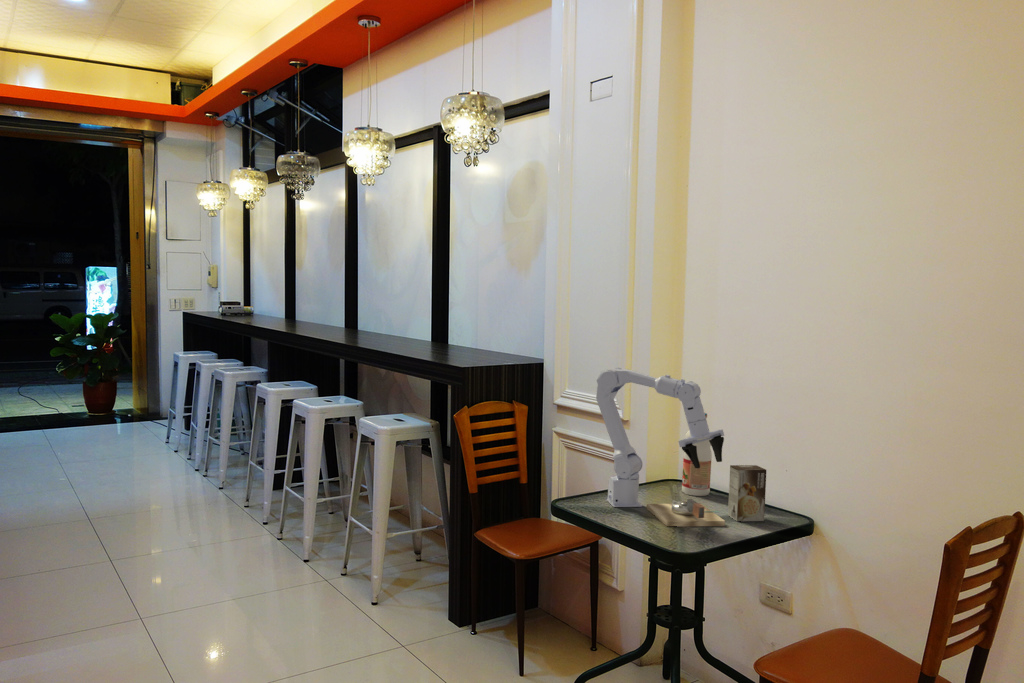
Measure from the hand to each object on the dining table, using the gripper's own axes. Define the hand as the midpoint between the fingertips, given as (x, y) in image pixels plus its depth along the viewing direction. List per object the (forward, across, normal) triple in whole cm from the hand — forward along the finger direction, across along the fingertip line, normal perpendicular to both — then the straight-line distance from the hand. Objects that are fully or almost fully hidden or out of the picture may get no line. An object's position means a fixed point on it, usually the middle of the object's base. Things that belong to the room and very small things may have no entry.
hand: (708, 464), depth 219 cm
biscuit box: (+19, +9, +3) cm, 22 cm away
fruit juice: (+12, +9, +32) cm, 35 cm away
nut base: (+14, -9, +7) cm, 18 cm away
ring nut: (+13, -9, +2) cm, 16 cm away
